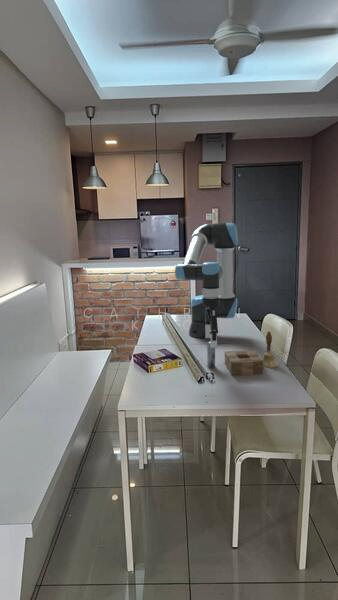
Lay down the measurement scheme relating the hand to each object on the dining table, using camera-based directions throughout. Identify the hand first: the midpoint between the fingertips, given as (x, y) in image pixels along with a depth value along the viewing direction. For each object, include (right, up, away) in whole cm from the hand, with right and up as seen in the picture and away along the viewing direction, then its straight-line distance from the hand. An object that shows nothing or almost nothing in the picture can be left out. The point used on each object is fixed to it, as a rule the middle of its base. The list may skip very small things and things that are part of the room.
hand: (211, 342), depth 168 cm
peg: (0, -12, +3) cm, 12 cm away
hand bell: (+27, -11, +4) cm, 30 cm away
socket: (+15, -12, 0) cm, 19 cm away
